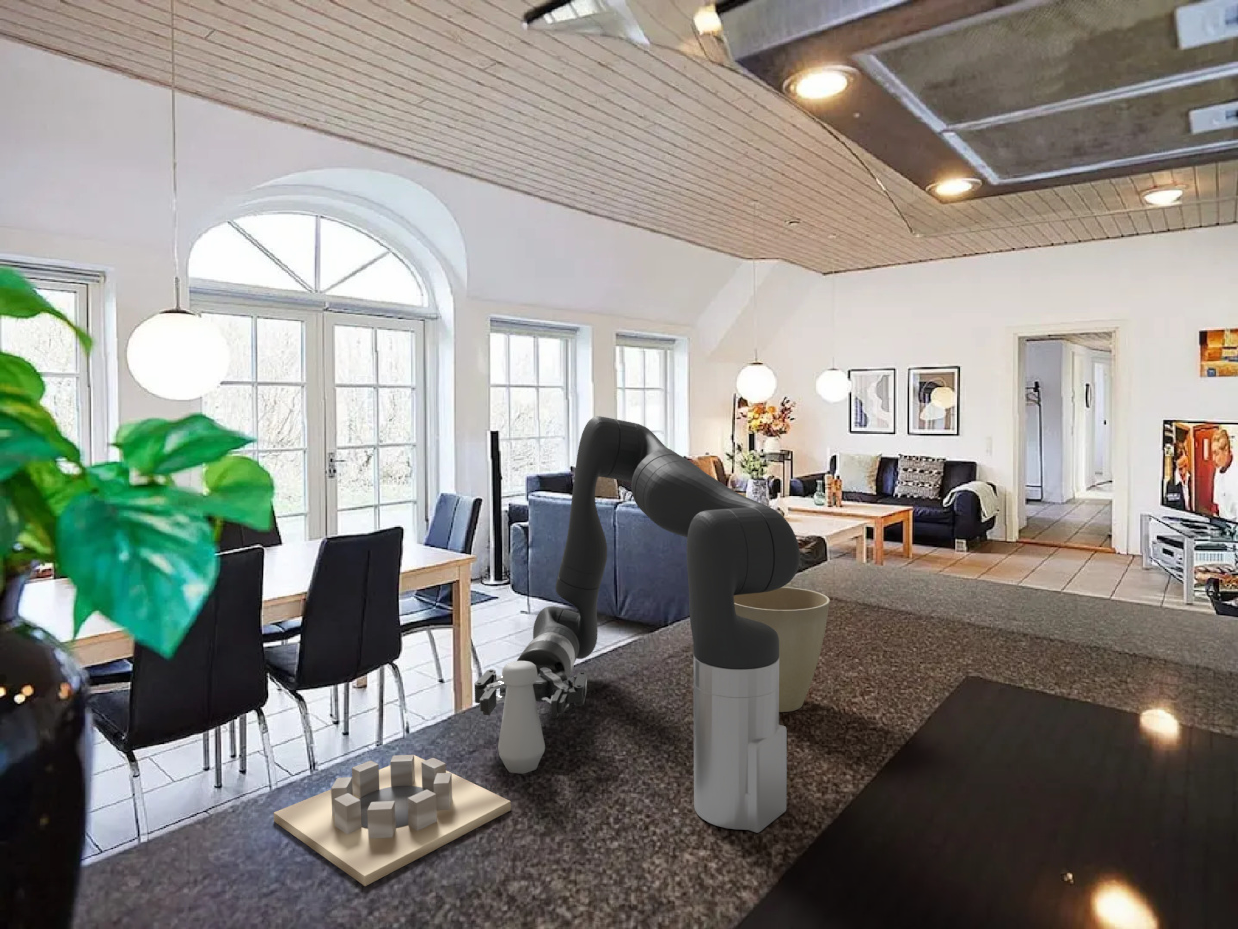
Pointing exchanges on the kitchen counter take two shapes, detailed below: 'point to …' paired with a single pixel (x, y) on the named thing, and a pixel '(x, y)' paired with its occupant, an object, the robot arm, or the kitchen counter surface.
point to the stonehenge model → (390, 815)
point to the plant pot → (790, 635)
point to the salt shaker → (520, 719)
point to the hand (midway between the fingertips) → (519, 708)
